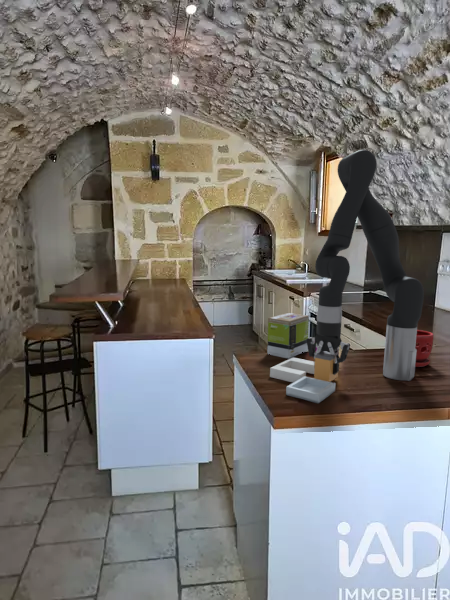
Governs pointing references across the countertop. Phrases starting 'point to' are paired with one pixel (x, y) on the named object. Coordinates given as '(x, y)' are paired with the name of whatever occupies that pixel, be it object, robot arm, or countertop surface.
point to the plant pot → (423, 347)
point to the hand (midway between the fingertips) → (326, 371)
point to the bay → (292, 369)
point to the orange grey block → (324, 367)
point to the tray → (310, 389)
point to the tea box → (287, 335)
